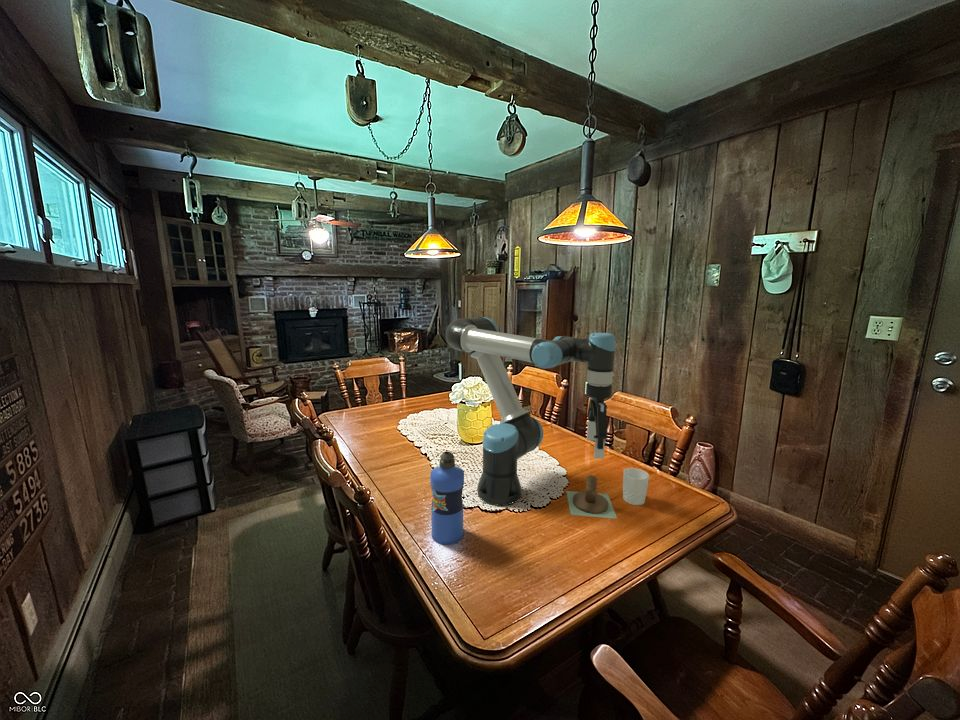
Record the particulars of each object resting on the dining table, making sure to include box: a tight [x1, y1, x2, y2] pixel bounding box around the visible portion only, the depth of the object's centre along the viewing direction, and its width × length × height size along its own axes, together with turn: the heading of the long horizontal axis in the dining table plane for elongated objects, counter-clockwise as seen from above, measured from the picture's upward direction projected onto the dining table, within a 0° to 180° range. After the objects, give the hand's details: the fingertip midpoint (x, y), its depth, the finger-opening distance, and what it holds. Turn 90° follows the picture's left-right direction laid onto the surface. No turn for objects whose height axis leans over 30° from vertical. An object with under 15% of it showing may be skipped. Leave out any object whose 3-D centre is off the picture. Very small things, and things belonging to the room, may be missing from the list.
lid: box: [573, 475, 608, 514], centre depth 121 cm, size 11×11×9 cm
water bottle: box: [429, 450, 465, 546], centre depth 104 cm, size 9×9×25 cm
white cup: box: [622, 467, 650, 506], centre depth 124 cm, size 8×8×10 cm
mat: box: [565, 490, 618, 520], centre depth 122 cm, size 14×14×1 cm
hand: (594, 448), depth 118 cm, fingers open, 13 cm apart
